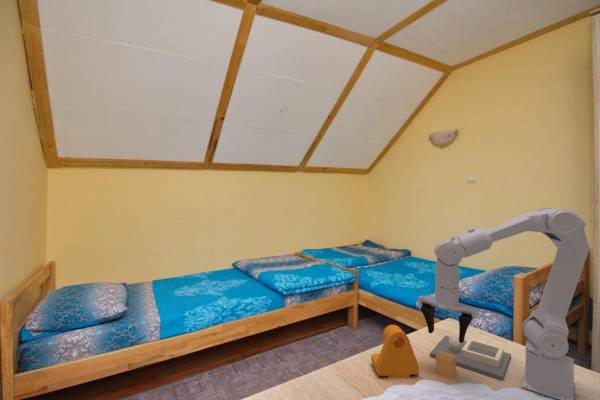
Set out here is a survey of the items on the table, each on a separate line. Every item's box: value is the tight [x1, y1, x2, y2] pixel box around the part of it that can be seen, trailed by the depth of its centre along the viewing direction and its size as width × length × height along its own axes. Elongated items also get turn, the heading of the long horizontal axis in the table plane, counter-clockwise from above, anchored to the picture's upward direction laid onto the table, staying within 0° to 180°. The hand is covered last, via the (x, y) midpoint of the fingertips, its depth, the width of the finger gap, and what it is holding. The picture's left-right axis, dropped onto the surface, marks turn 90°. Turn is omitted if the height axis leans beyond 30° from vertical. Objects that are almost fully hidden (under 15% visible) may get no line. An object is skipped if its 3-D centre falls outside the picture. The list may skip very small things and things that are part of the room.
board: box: [429, 335, 512, 381], centre depth 90 cm, size 18×15×4 cm
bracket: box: [371, 324, 420, 379], centre depth 83 cm, size 11×7×12 cm, turn 94°
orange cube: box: [435, 351, 457, 379], centre depth 82 cm, size 4×4×4 cm
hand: (445, 336), depth 82 cm, fingers open, 7 cm apart
